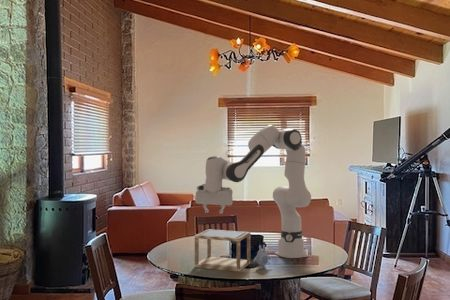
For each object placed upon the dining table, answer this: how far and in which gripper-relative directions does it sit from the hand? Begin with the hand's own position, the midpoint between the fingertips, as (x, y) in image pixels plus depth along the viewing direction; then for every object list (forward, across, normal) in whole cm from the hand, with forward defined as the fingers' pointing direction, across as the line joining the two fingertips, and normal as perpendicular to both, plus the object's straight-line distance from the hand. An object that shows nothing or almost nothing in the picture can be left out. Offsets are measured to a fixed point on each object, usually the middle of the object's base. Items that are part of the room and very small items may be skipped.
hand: (213, 213), depth 244 cm
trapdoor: (+14, -5, 0) cm, 15 cm away
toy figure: (+27, -26, -1) cm, 38 cm away
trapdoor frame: (+27, -5, 0) cm, 28 cm away
